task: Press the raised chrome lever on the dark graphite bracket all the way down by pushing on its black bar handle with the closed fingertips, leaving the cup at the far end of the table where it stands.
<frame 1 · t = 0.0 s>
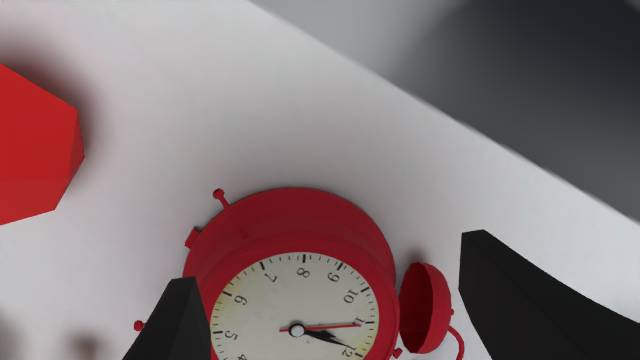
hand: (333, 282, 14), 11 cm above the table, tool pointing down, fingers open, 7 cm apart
apple: (8, 119, 21), on the table
alarm clock: (318, 293, 26), on the table
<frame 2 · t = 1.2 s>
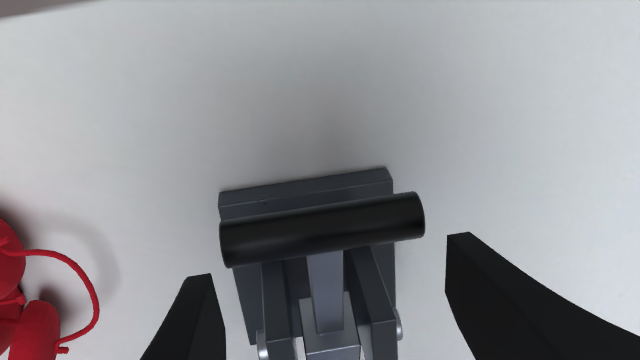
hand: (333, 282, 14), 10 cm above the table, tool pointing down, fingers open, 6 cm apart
bracket: (313, 254, 26), on the table
lever: (326, 295, 19), point 7 cm above the table, hinge at 20.0°
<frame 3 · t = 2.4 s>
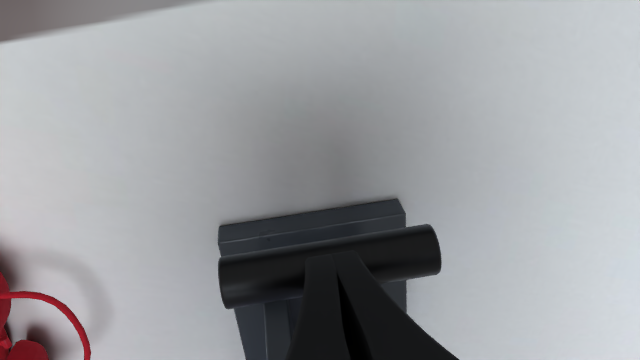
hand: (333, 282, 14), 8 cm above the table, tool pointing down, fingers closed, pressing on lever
bracket: (319, 288, 25), on the table
lever: (334, 339, 18), point 6 cm above the table, hinge at 15.1°, touching gripper
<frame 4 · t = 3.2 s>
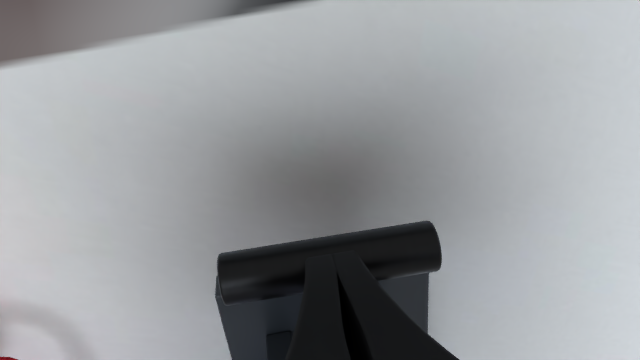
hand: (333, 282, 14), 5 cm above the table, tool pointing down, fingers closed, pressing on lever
bracket: (329, 339, 22), on the table
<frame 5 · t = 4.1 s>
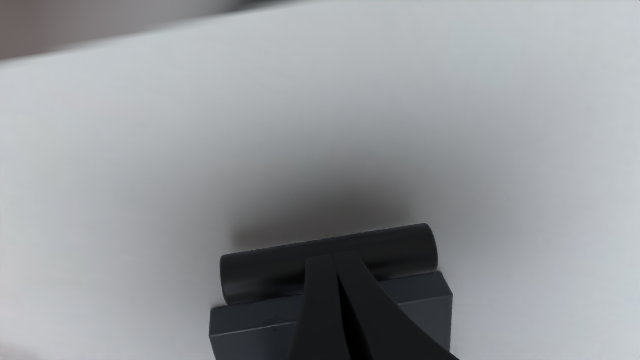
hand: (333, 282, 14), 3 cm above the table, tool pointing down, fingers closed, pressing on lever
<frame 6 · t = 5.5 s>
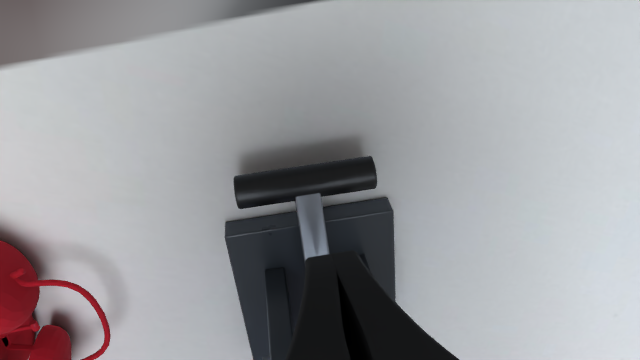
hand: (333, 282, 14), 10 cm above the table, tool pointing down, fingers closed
bracket: (316, 279, 27), on the table
lever: (320, 280, 22), point 4 cm above the table, hinge at -28.0°
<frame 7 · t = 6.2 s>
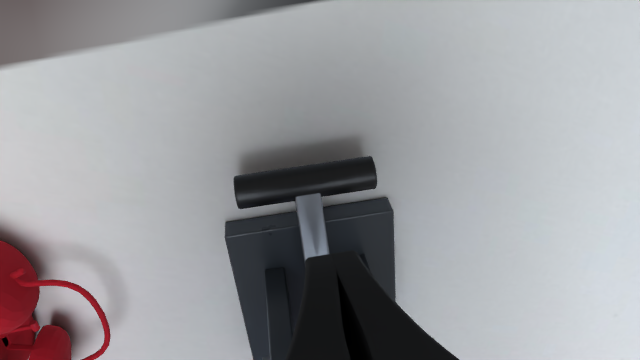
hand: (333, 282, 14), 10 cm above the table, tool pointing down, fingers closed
bracket: (316, 279, 27), on the table
lever: (320, 280, 22), point 4 cm above the table, hinge at -28.0°
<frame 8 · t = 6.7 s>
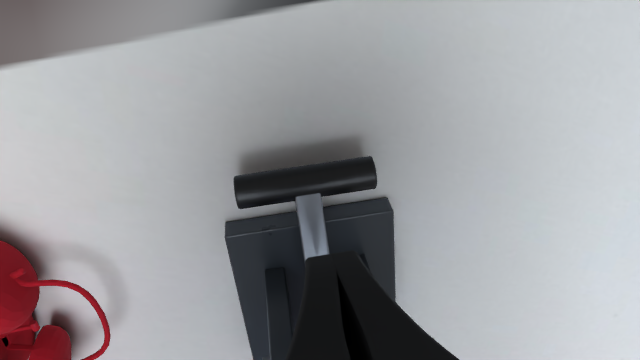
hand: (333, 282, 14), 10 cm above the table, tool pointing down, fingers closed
bracket: (316, 279, 27), on the table
lever: (320, 280, 22), point 4 cm above the table, hinge at -28.0°
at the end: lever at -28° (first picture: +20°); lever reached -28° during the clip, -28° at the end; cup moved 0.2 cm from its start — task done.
